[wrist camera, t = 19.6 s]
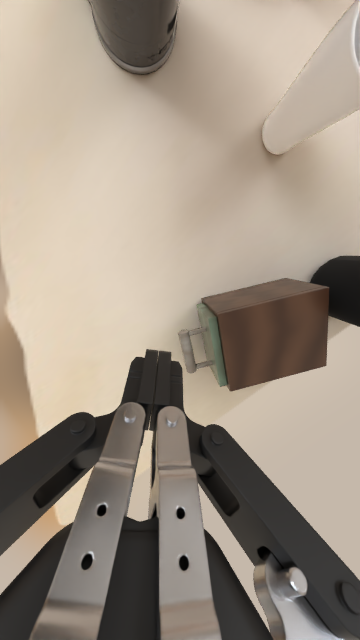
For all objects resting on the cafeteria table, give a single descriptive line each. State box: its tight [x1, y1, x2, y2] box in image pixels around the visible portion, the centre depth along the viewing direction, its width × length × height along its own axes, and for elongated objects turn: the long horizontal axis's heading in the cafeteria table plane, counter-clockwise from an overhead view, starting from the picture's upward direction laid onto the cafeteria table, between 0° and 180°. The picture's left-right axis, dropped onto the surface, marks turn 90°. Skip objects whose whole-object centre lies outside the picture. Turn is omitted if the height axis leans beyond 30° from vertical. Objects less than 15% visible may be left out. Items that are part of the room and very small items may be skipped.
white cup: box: [262, 0, 360, 154], centre depth 23 cm, size 7×7×15 cm
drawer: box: [178, 303, 227, 387], centre depth 34 cm, size 19×11×8 cm, turn 102°
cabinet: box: [201, 278, 329, 391], centre depth 34 cm, size 16×13×10 cm
